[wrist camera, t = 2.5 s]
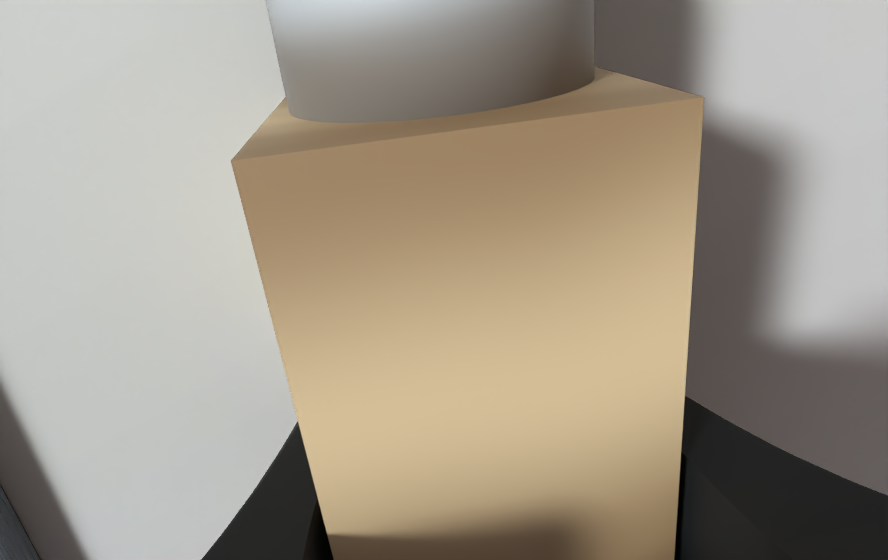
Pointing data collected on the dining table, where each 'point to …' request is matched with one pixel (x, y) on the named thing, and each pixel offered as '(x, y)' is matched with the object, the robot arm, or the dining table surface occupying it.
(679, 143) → the block
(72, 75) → the dining table surface
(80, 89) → the dining table surface
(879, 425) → the dining table surface
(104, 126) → the dining table surface
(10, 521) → the cradle
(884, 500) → the robot arm
